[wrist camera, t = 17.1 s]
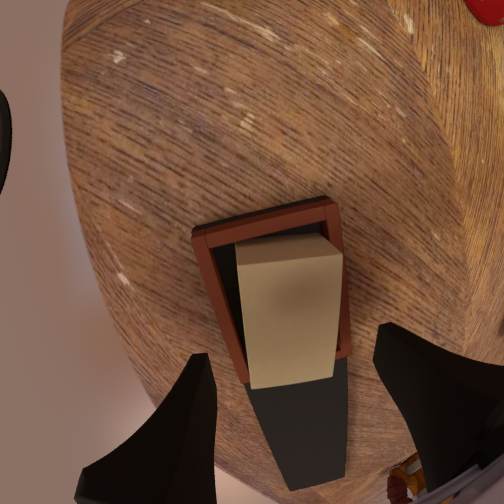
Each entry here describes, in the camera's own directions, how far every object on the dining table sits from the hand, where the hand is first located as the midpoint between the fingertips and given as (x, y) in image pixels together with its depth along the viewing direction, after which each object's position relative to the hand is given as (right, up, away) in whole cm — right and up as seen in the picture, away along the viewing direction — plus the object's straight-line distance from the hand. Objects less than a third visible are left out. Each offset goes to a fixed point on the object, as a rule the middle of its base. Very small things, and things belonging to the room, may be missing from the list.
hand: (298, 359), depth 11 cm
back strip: (+3, -11, +13) cm, 17 cm away
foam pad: (0, +2, +7) cm, 7 cm away
